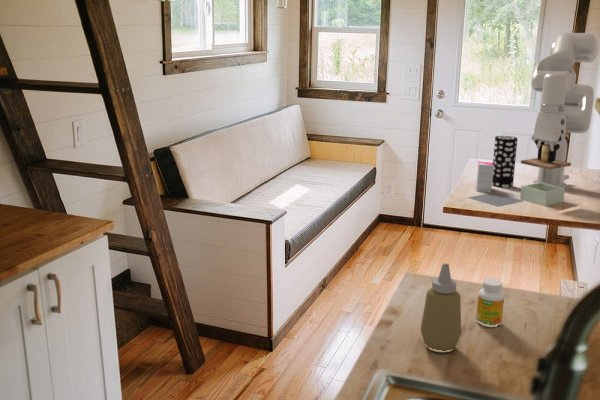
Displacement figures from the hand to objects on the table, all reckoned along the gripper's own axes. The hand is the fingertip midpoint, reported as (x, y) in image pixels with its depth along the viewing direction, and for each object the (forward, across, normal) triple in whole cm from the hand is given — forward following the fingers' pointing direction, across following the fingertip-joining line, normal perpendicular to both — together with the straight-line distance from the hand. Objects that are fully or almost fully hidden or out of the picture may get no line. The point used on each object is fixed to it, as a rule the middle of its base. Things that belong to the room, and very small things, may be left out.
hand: (546, 160), depth 230 cm
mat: (+16, +10, +13) cm, 23 cm away
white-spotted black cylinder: (+16, +23, -6) cm, 29 cm away
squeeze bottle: (+17, -57, +109) cm, 124 cm away
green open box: (+16, 0, 0) cm, 16 cm away
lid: (+2, 0, 0) cm, 2 cm away
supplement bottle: (+17, -55, +92) cm, 108 cm away
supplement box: (+16, +22, +6) cm, 28 cm away
